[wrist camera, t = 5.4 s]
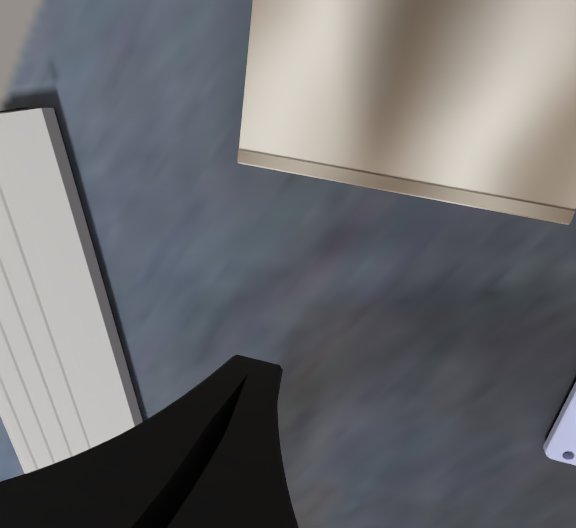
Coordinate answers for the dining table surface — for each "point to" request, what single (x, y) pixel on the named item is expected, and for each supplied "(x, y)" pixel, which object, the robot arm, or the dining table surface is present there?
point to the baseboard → (53, 306)
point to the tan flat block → (419, 98)
